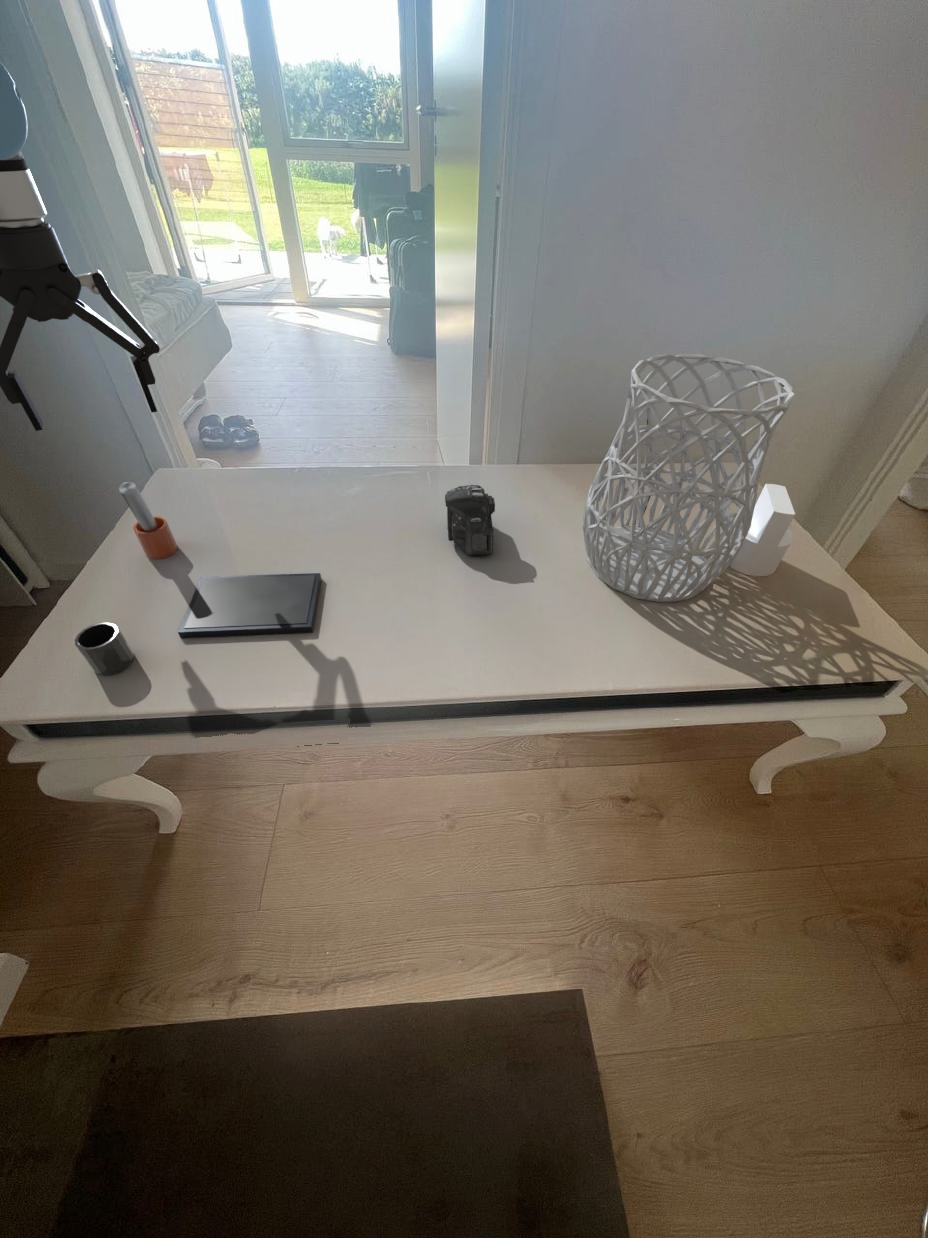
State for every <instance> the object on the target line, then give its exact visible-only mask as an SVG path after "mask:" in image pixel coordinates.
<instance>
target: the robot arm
mask: <svg viewBox="0 0 928 1238" xmlns="http://www.w3.org/2000/svg"><path fill="white" fill-rule="evenodd" d="M28 127H29V126H28V116H27V111H26V108H25V105H24V101H23V99H22V97H21V93H20V92H19V90H18V88H17V85H16V82H15V81H14V79H13V77H12V75H11V74H10V73H9V71H8V69H7V68H6V66H5V65H4V63H3V62H2V60H0V298H1V299H3V300H4V301H6V302H7V303H8V304H10V305H11V306H12V310H11V312H10V315H9V319H8V321H7V324H6V326H5V330H4V332H3V335H2V337H1V339H0V388H1V390H2V392H3V395H4V396H5V397H6V399H7V401H8V402H9V403H11V404H12V405H15V404H20V405H21V406H22V408H23V410H24V412H25V414H26V416H27V417H28V419H29V421H30V423H31V425H32V426H33V428H34V430H35V431H36V432H39V431H43V430H44V428H43V426H44V423H43V422H44V421H43V420H42V418H41V416H40V414H39V413H38V410H37V409H36V407H35V405H34V403H33V401H32V400H31V397H30V396H29V394H28V392H27V390H26V388H25V386H24V384H23V382H22V381H21V379H20V377H19V375H18V373H17V371H16V370H15V369H14V370H8V368H9V366H10V363H11V360H12V358H13V355H14V352H15V350H16V347H17V344H18V342H19V339H20V337H21V334H22V332H23V329H24V327H25V324H26V322H27V319H28V318H29V319H31V320H33V321H36V322H37V323H42V322H43V323H44V322H48V321H50V320H53V319H54V320H59V321H65V320H69V319H70V318H71V317H73V316H74V315H75V316H76V317H77V318H79V319H81V320H82V321H83V322H85V323H87V324H88V325H90V326H92V327H93V328H94V329H96V330H97V331H99V332H100V333H101V334H102V335H104V336H105V337H107V338H108V339H110V340H111V341H113V342H114V343H115V344H117V345H118V346H119V347H121V348H122V349H123V350H125V351H127V352H128V353H129V354H131V355H132V356H130V360H131V362H132V365H133V368H134V370H135V373H136V376H137V379H138V381H139V384H140V386H141V389H142V391H143V394H144V397H145V399H146V402H147V405H148V407H149V410H150V413H157V412H158V410H157V407H156V403H155V402H154V399H153V396H152V394H151V391H150V388H149V386H150V385H156V377H155V374H154V371H153V370H152V367H151V364H150V361H149V360H150V359H149V358H150V357H151V356H152V355H154V354H158V353H160V351H161V349H160V346H159V344H158V342H157V340H156V339H155V338H154V337H153V335H152V334H151V333H150V332H149V331H148V330H147V329H146V328H145V327H144V326H143V324H142V323H141V322H140V321H139V320H138V319H137V318H136V317H135V315H134V314H133V313H132V312H131V310H129V308H128V307H127V306H126V305H125V304H124V303H123V302H122V301H121V300H120V299H119V298H118V297H117V296H116V294H115V293H114V292H113V290H111V288H110V285H109V284H108V282H107V280H106V279H105V276H104V274H103V272H102V271H101V270H100V269H98V268H92V269H91V271H90V272H85V273H80V274H76V273H75V272H74V271H73V270H72V268H71V267H70V265H69V263H68V261H67V258H66V255H65V253H64V251H63V247H62V246H61V243H60V241H59V238H58V235H57V234H56V231H55V229H54V226H52V225H50V223H49V222H47V221H46V220H44V219H45V218H46V217H47V215H48V212H47V210H46V207H45V205H44V203H43V200H42V196H41V195H40V192H39V190H38V187H37V185H36V183H35V180H34V178H33V175H32V173H31V171H30V168H29V167H28V165H27V161H26V160H25V156H24V154H23V151H22V150H23V148H24V147H25V144H26V142H27V139H28V138H27V137H28V132H29V131H28ZM82 287H86V288H87V289H89V290H90V292H91V293H93V294H94V295H100V296H101V298H102V300H104V302H105V303H106V304H107V305H108V306H109V308H110V309H112V310H113V312H114V313H115V314H116V315H117V316H118V317H119V318H120V319H121V321H122V322H123V323H124V324H125V325H126V326H127V328H129V329H130V330H131V331H132V333H134V335H135V336H136V337H137V338H138V339H139V340H140V341H141V342H142V343H141V344H139V343H138V342H136V341H135V340H134V339H133V338H131V337H130V336H128V335H127V334H125V332H123V331H121V330H120V329H119V328H117V327H116V326H115V325H114V324H112V323H111V322H109V321H108V320H106V319H105V318H104V317H102V315H100V314H98V313H97V312H96V311H94V310H93V309H92V308H91V307H90V306H89V305H87V304H86V303H84V302H83V301H82V300H80V299H79V298H80V295H81V291H82Z"/></svg>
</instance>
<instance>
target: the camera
mask: <svg viewBox="0 0 928 1238" xmlns="http://www.w3.org/2000/svg"><path fill="white" fill-rule="evenodd" d="M444 505H445V507H446V519H447V521H446V523H447V537H448V541H449V542H453V544H454V545H457V546H459V547H461V549H462V551H463V553H464V554H465V555H468V556H490V555H492V554H493V552H494V528H493V518H492V515H493V514H494V513H495V512H496V502H495V497H493V496H492V495H489V493H486V491H485V489H484V488H483V487H482V486H481V485H479V484H467V485H459V486H458V487H457V486H456V487H454V488H451V489H450V490H447V492H446V493H445V494H444Z"/></svg>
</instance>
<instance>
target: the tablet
mask: <svg viewBox="0 0 928 1238" xmlns="http://www.w3.org/2000/svg"><path fill="white" fill-rule="evenodd" d="M321 584H322V574H321V572H310V573H309V572H308V573H306V572H305V573H283V574H282V573H280V574H278V573H277V574H276V573H275V574H252V575H251V574H247V575H246V574H245V575H220V576H217V575H215V576H201V577H200V578H199V581H198V583H197V586H196V589H195V590H194V593H193V595H192V597H191V600H190V603H189V605H188V607H187V610H186V612H185V614H184V617H183V619H182V621H181V624H180V626H179V629H178V631H177V634H178V636H179V638H180V639H195V638H219V637H220V638H221V637H241V636H244V637H245V636H265V635H266V636H268V635H289V634H312V633H313V632H314V626H315V622H316V621H315V619H316V615H317V609H318V602H319V597H320V590H321Z"/></svg>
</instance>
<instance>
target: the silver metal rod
mask: <svg viewBox="0 0 928 1238" xmlns="http://www.w3.org/2000/svg"><path fill="white" fill-rule="evenodd" d="M118 490H119V493H120V494H121V497H123V499H124V501H125V502H126V504H127V507H129V509H130V511H131V512H132V514H133V515H134V517H135V519H136V520H137V522H139V524H140V526H141V527H142V529H143V531H144V532H152V531H155V530H157V529H160V528H159V526H158V525H157V523H156V521H155V519H154V517H155V516H154V515H153V514H152V512H151V510H150V508H149V507H148V504H147V502H146V501H145V499H144V498H143V495H142V494H141V492H140V490H139V488H138V487H137V484H135V483H134V482H131V481H126V482H122V483H121V484H120V486H119V488H118Z"/></svg>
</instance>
